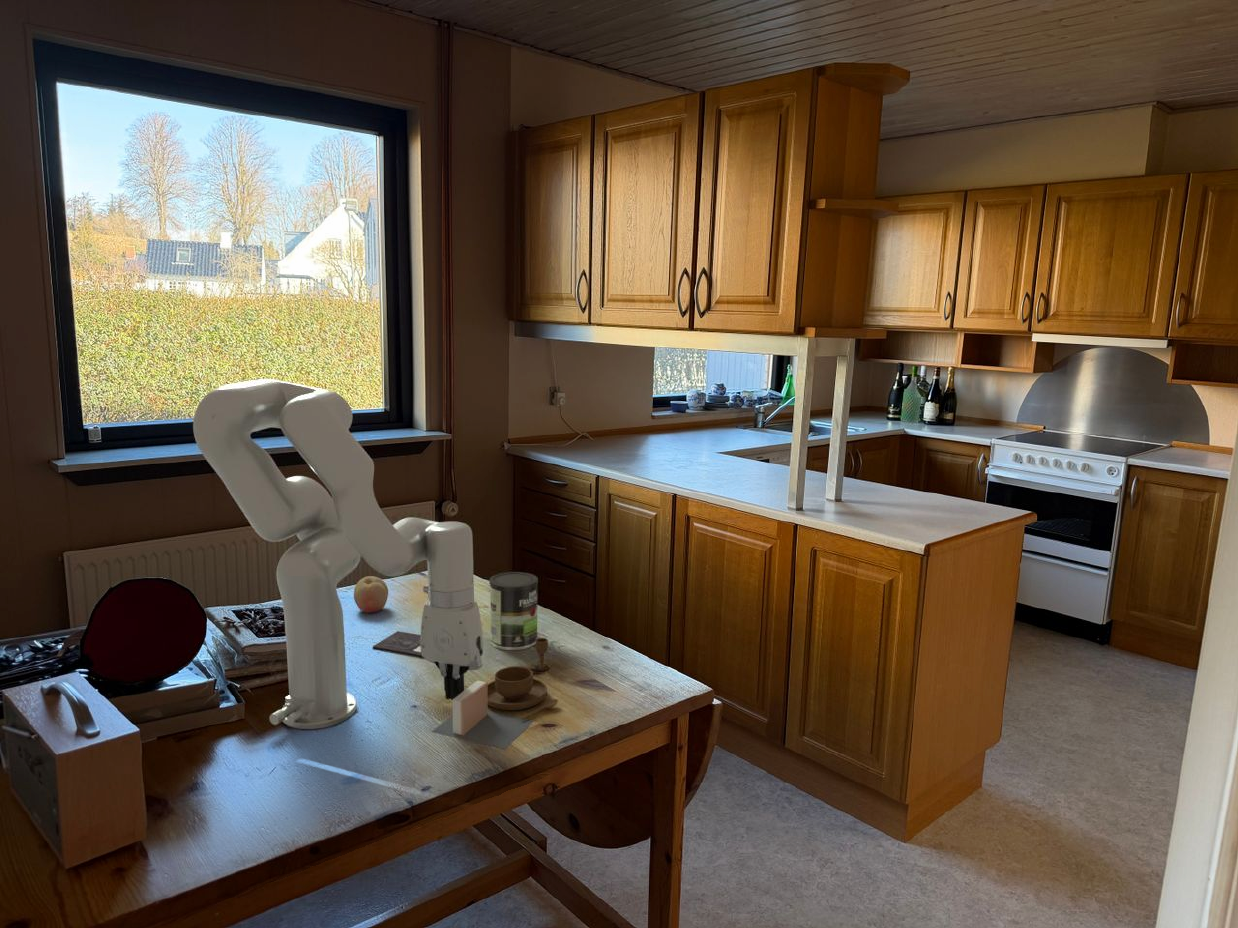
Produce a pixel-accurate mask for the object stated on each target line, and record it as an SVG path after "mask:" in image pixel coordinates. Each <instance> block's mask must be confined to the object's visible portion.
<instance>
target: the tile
mask: <svg viewBox="0 0 1238 928" xmlns="http://www.w3.org/2000/svg"><path fill="white" fill-rule="evenodd" d="M487 684H488V682H487V681H482V680H476V681H475V682H473V683H472V684H471V685H470V686H469V687H467V688H466V689H464V691H463V692H462V693H461V694H459V695H458V696H457V697H456V698H454V699H453V700H451V701H452V715H453V733H455V734H459V735H464V734H465V733H467V732H468V731H469V730H470V729H471V728H472V727H474V726H475V725H476V724H477V723H478V722H479V721H480V720H482V719H483V718H484V717H485V716H486V715H487V714H488V711H489V709H488V708H489V707H488V706H489V705H488V689H487Z"/></svg>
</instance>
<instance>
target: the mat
mask: <svg viewBox="0 0 1238 928" xmlns="http://www.w3.org/2000/svg"><path fill="white" fill-rule="evenodd" d="M520 718H521V717H516V716H511V715H506V714H503V713H498V712H494V711H489V710H488V714H487V715H486V716H485V717H484V718H483V719H482V720H480V721H479V722H478V723H477V724H476V725H475V726H474V727H472V728H471V729H470V730H469V731H468V732H467V733H465V734H464V735H459V734H455V733H453V714H452V715H450V716H449V717H448V718H447V719H446V720H445V721H443V722H442V723H440V725H438V726H437V727H436V728H435V729H433V730H431V732H432V733H436V734H439V735H443V736H448V737H452V738H456V739H461V740H464V741H468V742H469V741H470V742H473V743H478V744H482V745H485V746H489V747H494V748H497V749H498V748H499V749H502V750H506V749H507V748H508V747H509V746H510V745H511V744H512V743H513V742H514V741H516V740H517V738H518V737H520V736H521V734H522V733H523V732H524V731H525V730H527V728H528V727H529V726H530V725H532V723H534V720H529V719H526V718H524V719H520Z"/></svg>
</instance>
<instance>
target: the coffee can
mask: <svg viewBox="0 0 1238 928" xmlns="http://www.w3.org/2000/svg"><path fill="white" fill-rule="evenodd" d="M538 584H539V578H538V577H537V575H535V574H533V573H528V572H522V571H507V572H501V573H497V574H495V575H493V576H491V577H490V578H489V592H490V593H489V609H490V610H489V611H490V612H489V615H490V618H489V619H490V640H489V643H490V645H491V646H492V647H494V648H496V649H499V650H503V651H521V650H522V651H523V650H527V649H529V648H532V647H534V646H536V639H538Z"/></svg>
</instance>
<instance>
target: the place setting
mask: <svg viewBox="0 0 1238 928" xmlns="http://www.w3.org/2000/svg"><path fill="white" fill-rule="evenodd" d="M548 641H549V640H548V638H545V637H537V639H536V644H535V651H536V653H537V654H539V659H538V661H539V663H540V664H538V665H536V666H535V670H536V671H538V672H539V671H540V672H542V671H543V672H544V671H547V670H549V669H550V666H549V665H548V664H546V663H545V660H546V659H545V654H546V653H547V652H548V651H549V650H548V648H549V647H548V646H549V642H548ZM487 689H488V706H490V707H492V708H493V709H494V708H495V709H498V710H503V711H520V710H522V711H523V710H525V709H529V708H531V707H534V706H536V705H538V704H539V703H541V702H542V701H543V700H544V699H545V697H546V696H547V694H548V693H547V692H548V687H547V685H546V684H545V683H544V682H543V681H541V680H540V679H537V678H534V673H533V670H531V669H530V668H528V667H524V666H508V667H504V668H501V669H499V670H498V671H496V673H495V674H494V680H492V681H491V682H489V683H487ZM557 703H558V699H556V698H555V699H551V700H548V701H545V702H544V703H543V704H542V706H540V707H538V708H537V709H534V710H532V711H530V712H529V713H527V714H524V715H523V716H521V717H519V718H520V719H526V718H527V717H529V716H531V715H533V714H535V713H537V712H539V711H541V710H543V709H550V708H552V707H554V706H555V705H557Z"/></svg>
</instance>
